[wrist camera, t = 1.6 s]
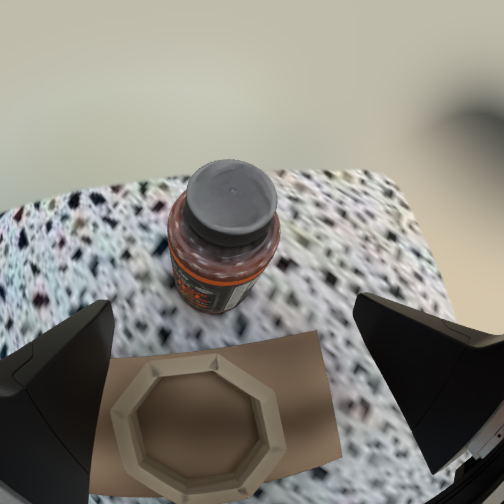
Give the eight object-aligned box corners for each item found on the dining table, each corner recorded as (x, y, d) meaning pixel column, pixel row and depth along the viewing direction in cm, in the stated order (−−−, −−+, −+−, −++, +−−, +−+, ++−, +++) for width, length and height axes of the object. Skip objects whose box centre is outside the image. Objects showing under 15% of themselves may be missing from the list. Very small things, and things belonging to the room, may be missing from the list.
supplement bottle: (159, 280, 21) (132, 191, 11) (209, 230, 23) (225, 125, 13) (217, 332, 20) (241, 286, 10) (265, 276, 23) (322, 193, 13)
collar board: (336, 454, 17) (362, 465, 14) (89, 489, 12) (72, 506, 8) (311, 332, 21) (334, 322, 18) (61, 360, 16) (36, 355, 13)
